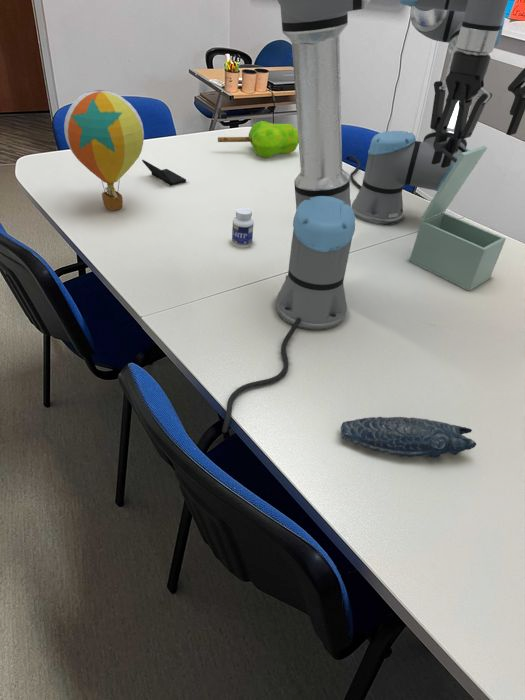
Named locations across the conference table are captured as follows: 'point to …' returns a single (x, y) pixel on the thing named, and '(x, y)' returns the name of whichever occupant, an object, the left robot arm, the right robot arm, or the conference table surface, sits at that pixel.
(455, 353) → the conference table surface
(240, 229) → the pill bottle
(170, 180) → the black angular piece
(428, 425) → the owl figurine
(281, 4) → the left robot arm
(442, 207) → the lid
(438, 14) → the right robot arm
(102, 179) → the toy
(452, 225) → the chest
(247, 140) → the decorative tree
